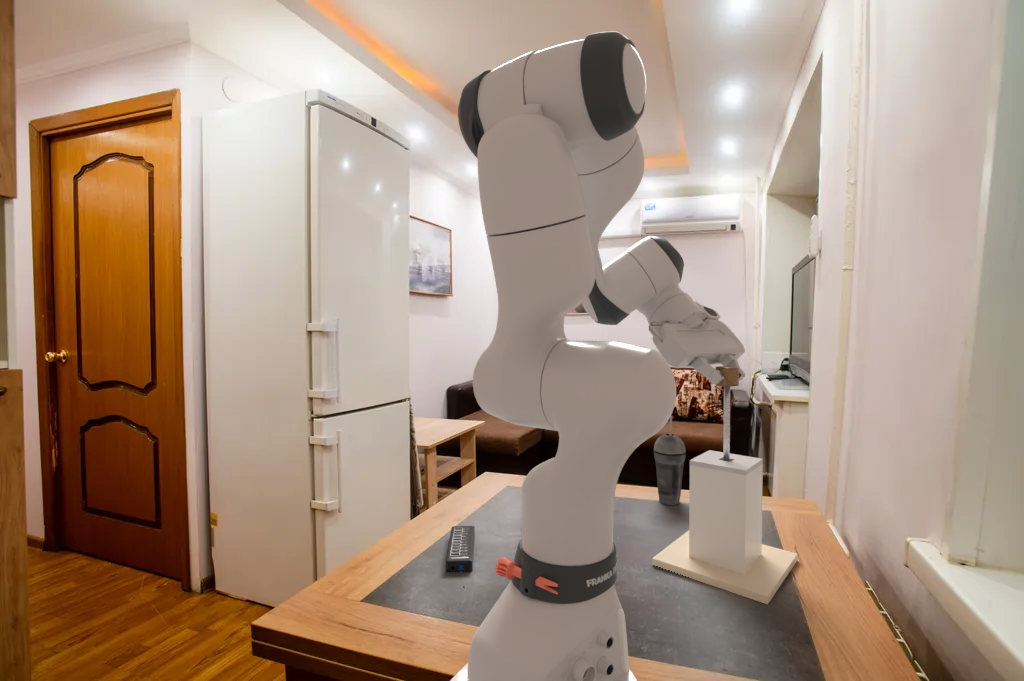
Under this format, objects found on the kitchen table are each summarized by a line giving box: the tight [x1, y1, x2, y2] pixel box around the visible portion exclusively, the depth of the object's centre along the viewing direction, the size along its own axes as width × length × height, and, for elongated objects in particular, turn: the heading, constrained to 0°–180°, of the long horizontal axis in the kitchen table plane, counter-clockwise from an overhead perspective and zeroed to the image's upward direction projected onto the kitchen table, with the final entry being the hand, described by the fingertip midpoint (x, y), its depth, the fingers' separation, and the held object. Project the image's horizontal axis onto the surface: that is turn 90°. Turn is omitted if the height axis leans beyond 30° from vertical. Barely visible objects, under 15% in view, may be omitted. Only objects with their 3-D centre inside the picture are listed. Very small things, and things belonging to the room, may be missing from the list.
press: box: [651, 449, 799, 605], centre depth 85 cm, size 18×18×18 cm
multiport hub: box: [445, 525, 476, 574], centre depth 90 cm, size 4×14×2 cm, turn 3°
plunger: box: [715, 365, 740, 462], centre depth 85 cm, size 7×7×18 cm
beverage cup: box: [652, 415, 687, 506], centre depth 115 cm, size 7×7×20 cm
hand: (730, 380), depth 84 cm, fingers open, 5 cm apart
